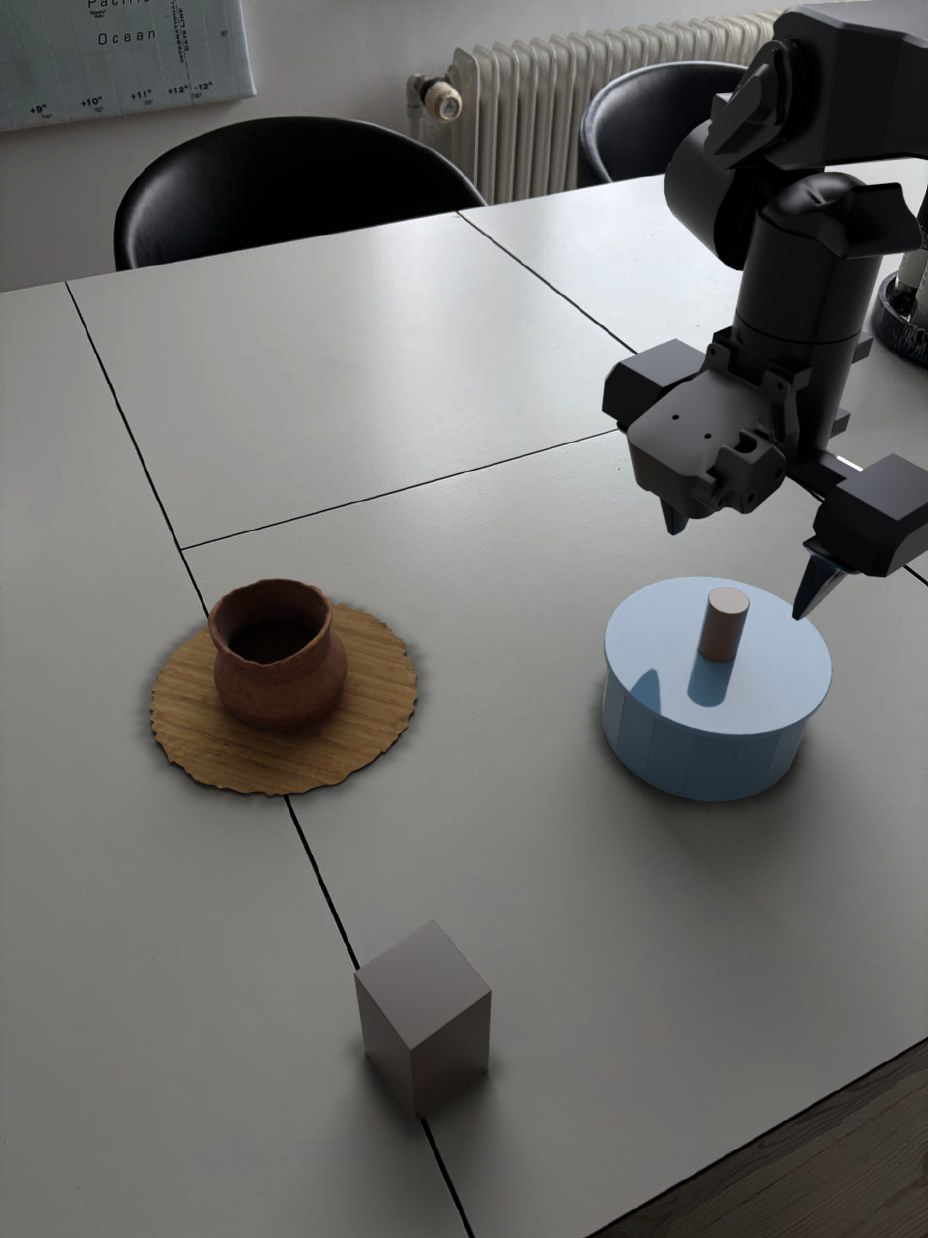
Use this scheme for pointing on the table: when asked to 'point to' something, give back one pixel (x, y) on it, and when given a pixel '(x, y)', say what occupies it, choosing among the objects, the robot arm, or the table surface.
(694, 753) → the bowl
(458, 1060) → the stand
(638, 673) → the bowl lid
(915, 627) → the table surface
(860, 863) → the table surface
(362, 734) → the ceramic pot
